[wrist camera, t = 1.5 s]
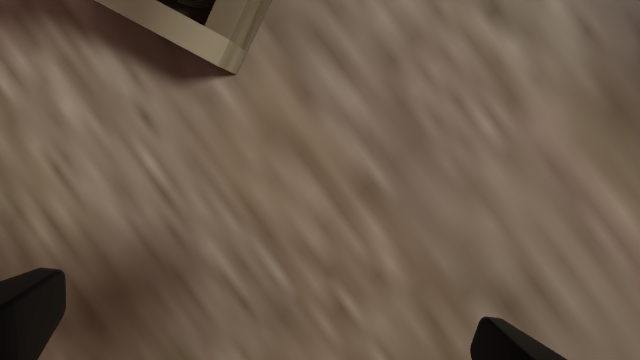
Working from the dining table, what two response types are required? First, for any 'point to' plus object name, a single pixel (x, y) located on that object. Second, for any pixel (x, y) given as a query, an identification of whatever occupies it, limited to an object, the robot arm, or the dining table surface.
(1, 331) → the robot arm
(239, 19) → the socket block
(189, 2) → the pin
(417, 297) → the dining table surface
